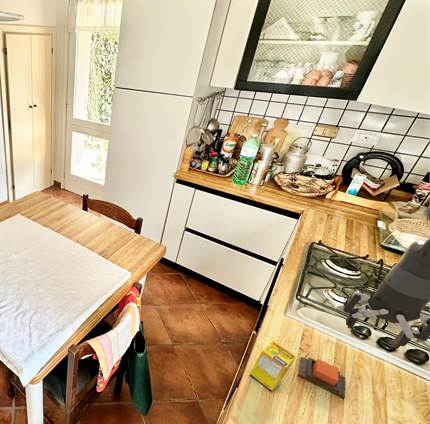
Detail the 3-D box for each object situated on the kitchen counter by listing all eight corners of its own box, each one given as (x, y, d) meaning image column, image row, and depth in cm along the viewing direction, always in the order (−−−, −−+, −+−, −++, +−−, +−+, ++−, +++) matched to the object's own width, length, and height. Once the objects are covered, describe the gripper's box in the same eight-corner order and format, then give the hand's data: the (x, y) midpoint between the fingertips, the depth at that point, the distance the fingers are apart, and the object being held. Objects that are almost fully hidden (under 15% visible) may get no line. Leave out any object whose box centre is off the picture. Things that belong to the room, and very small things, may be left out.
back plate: (343, 379, 85) (347, 375, 84) (343, 399, 80) (347, 395, 79) (300, 358, 90) (302, 354, 89) (297, 375, 86) (300, 371, 84)
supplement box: (281, 380, 84) (297, 356, 79) (271, 393, 81) (286, 368, 76) (259, 363, 89) (272, 339, 83) (248, 375, 86) (261, 350, 80)
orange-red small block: (333, 374, 85) (338, 368, 83) (333, 387, 82) (338, 381, 80) (313, 365, 87) (317, 358, 86) (311, 377, 84) (316, 370, 83)
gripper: (453, 290, 65) (410, 340, 73) (364, 264, 73) (334, 311, 81) (463, 311, 60) (415, 362, 68) (366, 281, 68) (334, 330, 76)
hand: (371, 334), depth 75 cm, fingers open, 8 cm apart
